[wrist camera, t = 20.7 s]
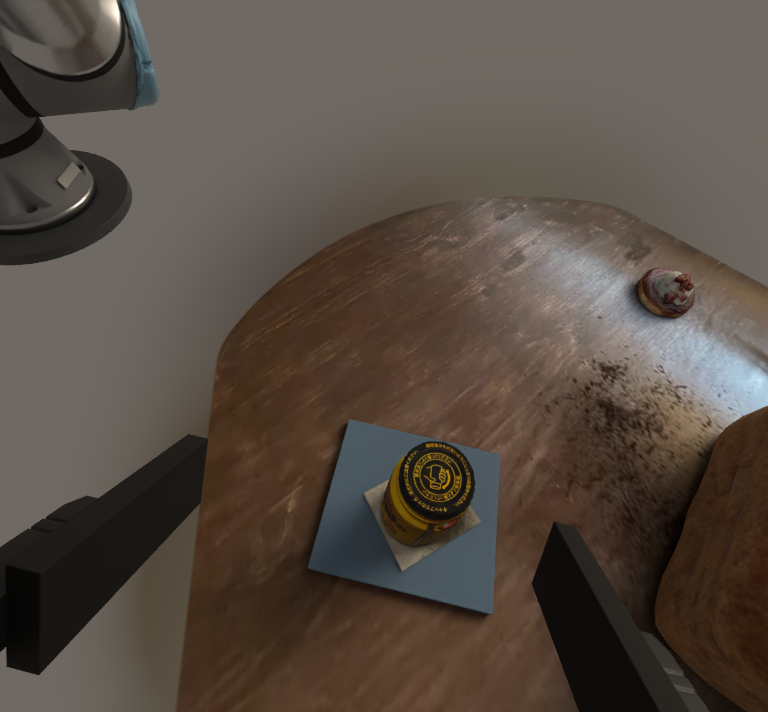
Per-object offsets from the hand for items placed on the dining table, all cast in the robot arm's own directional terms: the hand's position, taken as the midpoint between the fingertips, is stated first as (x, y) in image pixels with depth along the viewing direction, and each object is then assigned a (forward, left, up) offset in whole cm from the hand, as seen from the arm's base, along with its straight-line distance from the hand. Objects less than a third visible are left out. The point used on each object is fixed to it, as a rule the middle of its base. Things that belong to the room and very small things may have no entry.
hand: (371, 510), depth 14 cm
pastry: (+34, +41, -24) cm, 59 cm away
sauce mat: (+4, +6, -23) cm, 24 cm away
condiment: (+5, +6, -23) cm, 24 cm away
